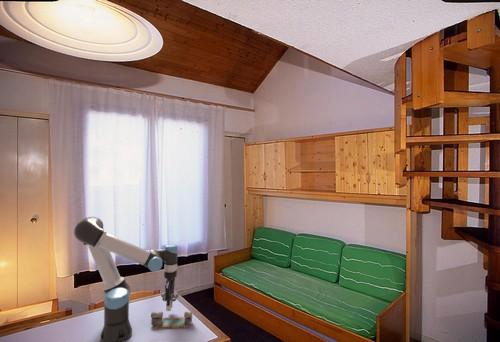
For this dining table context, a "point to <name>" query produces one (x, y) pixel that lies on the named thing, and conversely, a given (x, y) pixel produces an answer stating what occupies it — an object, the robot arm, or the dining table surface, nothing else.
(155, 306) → the dining table surface
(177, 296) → the mechanical component
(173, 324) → the mint panel frame
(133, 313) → the dining table surface
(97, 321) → the dining table surface
